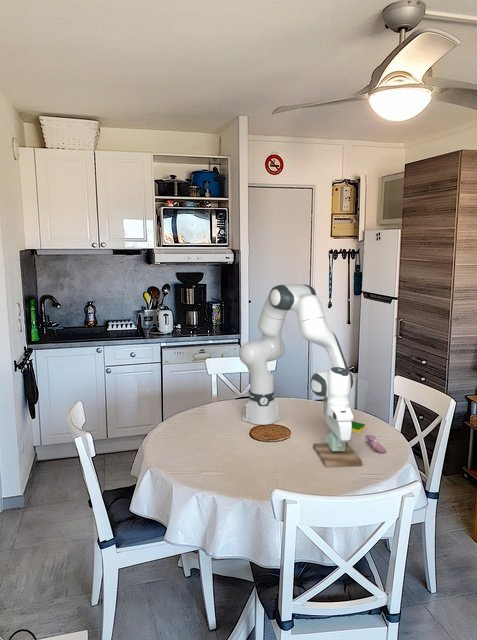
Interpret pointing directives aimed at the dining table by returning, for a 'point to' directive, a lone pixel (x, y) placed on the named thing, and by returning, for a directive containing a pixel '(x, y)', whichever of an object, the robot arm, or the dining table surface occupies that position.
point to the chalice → (325, 416)
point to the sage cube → (335, 443)
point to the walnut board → (336, 456)
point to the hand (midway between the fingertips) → (336, 443)
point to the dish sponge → (357, 427)
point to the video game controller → (374, 443)
